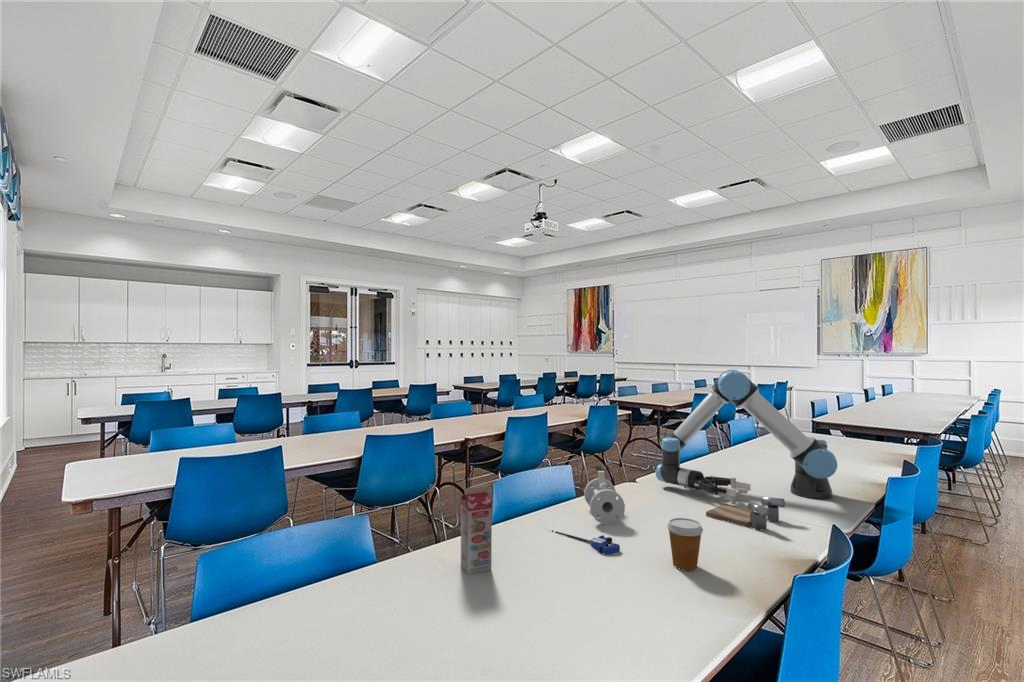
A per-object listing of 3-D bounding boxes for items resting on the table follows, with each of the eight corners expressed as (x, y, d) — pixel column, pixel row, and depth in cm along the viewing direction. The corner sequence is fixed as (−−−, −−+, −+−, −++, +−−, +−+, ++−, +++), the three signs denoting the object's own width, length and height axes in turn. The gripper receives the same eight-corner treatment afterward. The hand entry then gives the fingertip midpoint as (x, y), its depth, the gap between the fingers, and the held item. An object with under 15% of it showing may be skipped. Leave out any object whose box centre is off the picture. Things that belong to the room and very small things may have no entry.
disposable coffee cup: (685, 576, 132) (685, 531, 132) (659, 562, 140) (659, 520, 140) (710, 569, 136) (710, 525, 136) (684, 556, 145) (684, 515, 145)
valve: (625, 525, 171) (625, 481, 171) (590, 524, 171) (590, 481, 171) (612, 505, 193) (612, 466, 193) (582, 504, 193) (582, 466, 193)
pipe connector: (742, 499, 200) (742, 475, 200) (751, 507, 190) (751, 481, 190) (716, 499, 201) (716, 474, 201) (724, 506, 191) (724, 480, 191)
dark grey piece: (746, 525, 171) (746, 501, 171) (756, 524, 172) (756, 501, 172) (760, 532, 164) (759, 508, 164) (770, 531, 165) (770, 507, 165)
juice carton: (460, 564, 139) (461, 485, 139) (483, 560, 141) (483, 483, 142) (468, 574, 133) (468, 491, 133) (491, 570, 135) (491, 489, 136)
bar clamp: (628, 539, 152) (611, 549, 145) (629, 547, 152) (611, 557, 144) (546, 519, 174) (528, 526, 166) (546, 526, 174) (528, 533, 166)
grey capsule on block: (762, 521, 175) (762, 498, 175) (761, 517, 179) (761, 495, 179) (785, 523, 173) (785, 500, 173) (783, 519, 176) (782, 497, 177)
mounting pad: (725, 507, 190) (725, 503, 190) (766, 517, 179) (766, 513, 179) (706, 515, 180) (705, 511, 180) (747, 527, 169) (747, 522, 169)
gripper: (705, 483, 217) (756, 494, 201) (675, 493, 201) (728, 506, 185) (705, 465, 217) (756, 475, 201) (675, 474, 202) (728, 485, 185)
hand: (743, 490), depth 193 cm, fingers open, 12 cm apart
